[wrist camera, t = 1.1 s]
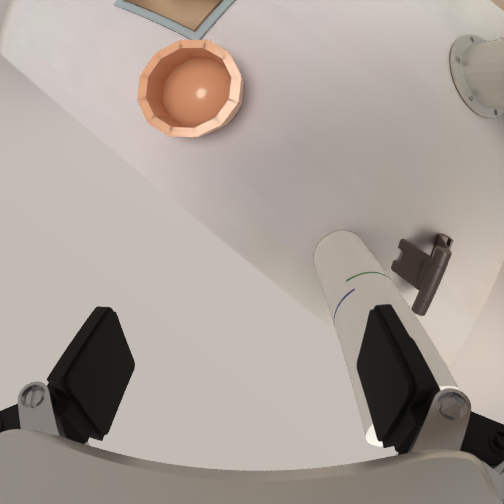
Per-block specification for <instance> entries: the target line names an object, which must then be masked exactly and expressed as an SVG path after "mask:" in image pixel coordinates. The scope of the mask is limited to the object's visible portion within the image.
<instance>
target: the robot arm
mask: <svg viewBox="0 0 504 504" xmlns="http://www.w3.org/2000/svg"><path fill="white" fill-rule="evenodd" d="M450 66H451V72H452V76H453V79H454V82H455V85H456V87H457V89H458V91H459V93H460V95H461V97H462V98H463V100H464V101H465V103H466V104H467V105H468V106H469V107H470V108H471V109H472V110H473V111H474V112H475V113H477V114H479V115H480V116H483V117H486V118H497V117H499V116H501V115H502V114H503V113H504V38H503V37H501V38H500V39H499V40H495V41H490V42H487V41H485V40H484V39H482V38H480V37H478V36H474V35H466V36H463V37H460V38H459V39H457V40H456V41H455V43H454V44H453V46H452V49H451V54H450ZM134 367H135V362H134V359H133V357H132V354H131V351H130V349H129V346H128V344H127V341H126V338H125V336H124V333H123V330H122V328H121V325H120V322H119V319H118V316H117V314H116V312H114V311H113V310H112V309H111V308H110V307H96V308H95V309H94V311H93V312H92V313H91V315H90V316H89V318H88V319H87V320H86V322H85V323H84V324H83V326H82V327H81V329H80V330H79V331H78V333H77V334H76V336H75V337H74V339H73V340H72V342H71V343H70V344H69V346H68V347H67V349H66V350H65V352H64V353H63V355H62V356H61V358H60V359H59V361H58V362H57V364H56V365H55V367H54V368H53V370H52V372H51V373H50V375H49V377H48V378H47V380H48V382H49V383H48V385H47V386H46V385H45V384H44V383H42V382H32V383H30V384H28V385H26V386H25V387H24V388H23V389H22V390H21V391H20V393H19V396H18V404H16V405H13V406H11V407H9V408H6V409H4V410H2V411H0V504H504V425H503V424H501V423H498V422H496V421H493V420H491V419H488V418H486V417H484V416H481V415H479V414H476V413H474V412H472V411H471V403H470V400H469V399H468V397H467V396H466V395H465V394H464V393H463V392H461V391H459V390H457V389H453V388H446V389H443V390H440V388H439V386H438V384H437V382H436V380H435V378H434V376H433V374H432V372H431V370H430V368H429V366H428V364H427V363H426V361H425V359H424V357H423V355H422V353H421V351H420V350H419V348H418V346H417V344H416V342H415V341H414V339H413V338H411V337H410V336H409V334H408V332H407V330H406V329H405V327H404V325H403V323H402V322H401V320H400V318H399V317H398V315H397V313H396V312H395V310H394V308H393V307H392V305H391V304H383V305H376V306H375V307H374V309H371V310H370V311H369V315H368V320H367V324H366V328H365V332H364V336H363V340H362V344H361V348H360V352H359V355H358V359H357V372H358V375H359V378H360V381H361V385H362V388H363V391H364V395H365V398H366V401H367V405H368V408H369V412H370V415H371V419H372V422H373V426H374V430H375V433H376V437H377V440H378V441H379V442H380V441H382V443H383V447H384V448H387V447H391V446H394V447H395V450H396V451H397V454H396V455H395V456H391V457H386V458H381V459H376V460H371V461H365V462H359V463H353V464H346V465H338V466H331V467H322V468H312V469H301V470H300V469H299V470H279V471H239V470H218V469H207V468H196V467H188V466H180V465H173V464H166V463H160V462H155V461H149V460H144V459H139V458H134V457H130V456H125V455H121V454H117V453H113V452H109V451H106V450H102V449H99V448H95V447H91V446H89V443H88V439H89V437H90V438H93V439H97V440H100V441H102V440H103V437H104V435H106V434H108V432H109V430H110V427H111V425H112V422H113V420H114V417H115V414H116V412H117V410H118V407H119V404H120V402H121V400H122V397H123V395H124V392H125V390H126V387H127V385H128V383H129V380H130V378H131V376H132V373H133V371H134Z"/></svg>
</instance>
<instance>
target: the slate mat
mask: <svg viewBox="0 0 504 504" xmlns="http://www.w3.org/2000/svg"><path fill="white" fill-rule="evenodd" d="M234 2H235V0H223V1H222V2H221V4H220V5H219V6H218V7H217V8H216V9H215V10H214V11H213V12H212V13H211V14H210V16H209V17H208V18H207V19H206V20H205V21H204V22H203V24H202V25H201V26H200V27H199V28H198V29H197V31H196V32H194V31H192V30H190V29H188V28H186V27H184V26H182V25H180V24H178V23H176V22H174V21H172V20H169V19H167V18H165V17H163V16H161V15H158V14H156V13H154V12H151V11H149V10H147V9H144V8H142V7H139V6H137V5H134V4H131V3H129V2H126V1H123V0H117V1H116V2H115V3H114V5H115V6H117V7H120V8H123V9H125V10H128V11H130V12H133V13H135V14H138V15H140V16H142V17H145V18H147V19H149V20H152V21H154V22H156V23H158V24H160V25H163V26H165V27H167V28H169V29H171V30H173V31H175V32H177V33H179V34H181V35H183V36H185V37H187V38H189V39H191V40H201V39H202V37H203V36H204V35H205V34H206V33H207V31H208V30H209V29H210V28H211V27H212V26H213V24H214V23H215V22H216V21H217V20H218V19H219V18H220V17H221V15H222V14H223V13H224V12H225V11H226V10H227V9H228V8H229V7H230V6H231V5H232V4H233V3H234Z"/></svg>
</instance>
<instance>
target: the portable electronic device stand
mask: <svg viewBox="0 0 504 504" xmlns="http://www.w3.org/2000/svg"><path fill="white" fill-rule="evenodd" d="M452 242H453V240H452V239H451V238H450V237H448V236H446V235H444V234H439V237H438V238H437V241H436V246H435V248H434V251H433V254H432V257H431V256H429V255H428V254H426V253H425V252H423V251H421V250H420V249H418V248H417V247H415V246H413V245H412V244H410V243H409V242H407V241H405V240H404V239H402V240H401V241H400V243H399V246H398V248H399V249H401V250H402V251H403V253H404V255H403V258H402V261H401V263H399V262H397V261H393V264H392V267H391V269H392V271H394V272H395V273H397V274H398V275H399V276H401V277H402V278H403V279H405V280H406V281H407V282H409V283H410V284H411V285H413V286H414V287H415V288H417V289H418V290H419V292H418V295H417V297H416V299H415V301H414V304H413V306H412V311H413V312H414V313H416V314H418V315H421V316H424V315H425V314H426V312H427V310H428V308H429V306H430V304H431V302H432V300H433V297H434V295H435V293H436V291H437V288H438V286H439V284H440V282H441V279H442V277H443V275H444V272H445V270H446V267H447V265H448V262H449V259H450V257H451V254H452V253H451V251H450V248H451V245H452Z"/></svg>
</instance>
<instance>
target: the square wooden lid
mask: <svg viewBox="0 0 504 504" xmlns="http://www.w3.org/2000/svg"><path fill="white" fill-rule="evenodd" d="M123 1H126V2H129V3H131V4H134V5H137V6H139V7H142V8H144V9H147V10H149V11H151V12H154V13H156V14H158V15H161V16H163V17H165V18H167V19H169V20H172V21H174V22H176V23H178V24H180V25H182V26H184V27H186V28H188V29H190V30H192V31H194V32H196V31H197V29H198V28H199V27H200V26H201V25H202V24H203V22H204V21H205V20H206V19H207V18H208V17H209V16H210V14H211V13H212V12H213V11H214V10H215V9H216V8H217V7H218V6H219V5H220V4H221V2H222V1H223V0H123Z"/></svg>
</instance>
